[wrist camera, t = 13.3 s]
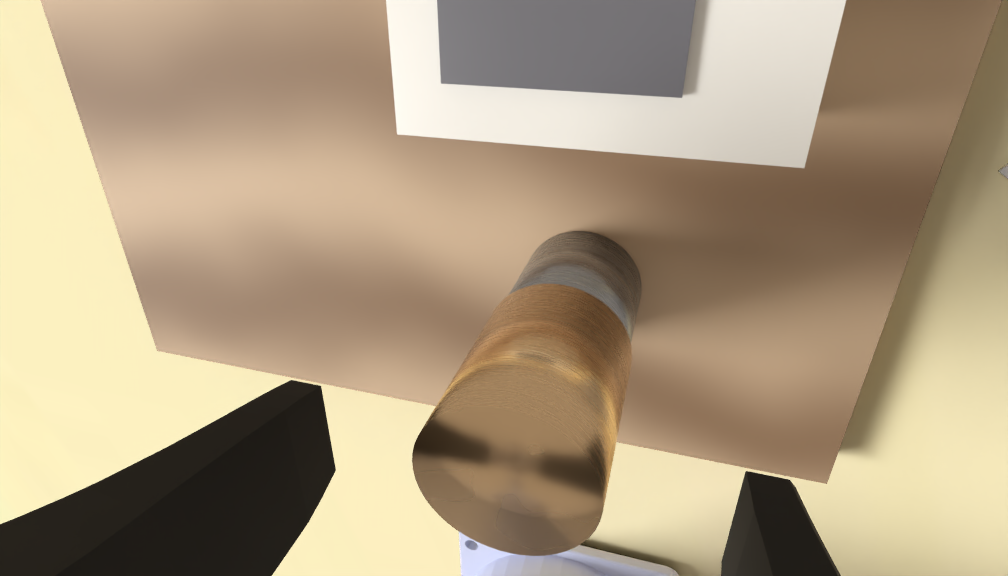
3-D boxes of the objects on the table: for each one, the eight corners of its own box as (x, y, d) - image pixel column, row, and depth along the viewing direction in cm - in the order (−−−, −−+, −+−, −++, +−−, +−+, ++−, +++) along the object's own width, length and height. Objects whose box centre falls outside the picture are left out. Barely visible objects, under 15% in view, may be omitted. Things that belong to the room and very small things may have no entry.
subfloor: (819, 452, 17) (827, 486, 16) (181, 333, 23) (155, 352, 22) (1141, -485, 9) (1203, -547, 8) (-18, -321, 14) (-78, -344, 13)
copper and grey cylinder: (634, 348, 16) (590, 577, 10) (518, 324, 17) (414, 525, 11) (655, 238, 14) (617, 436, 9) (526, 217, 15) (409, 386, 9)
